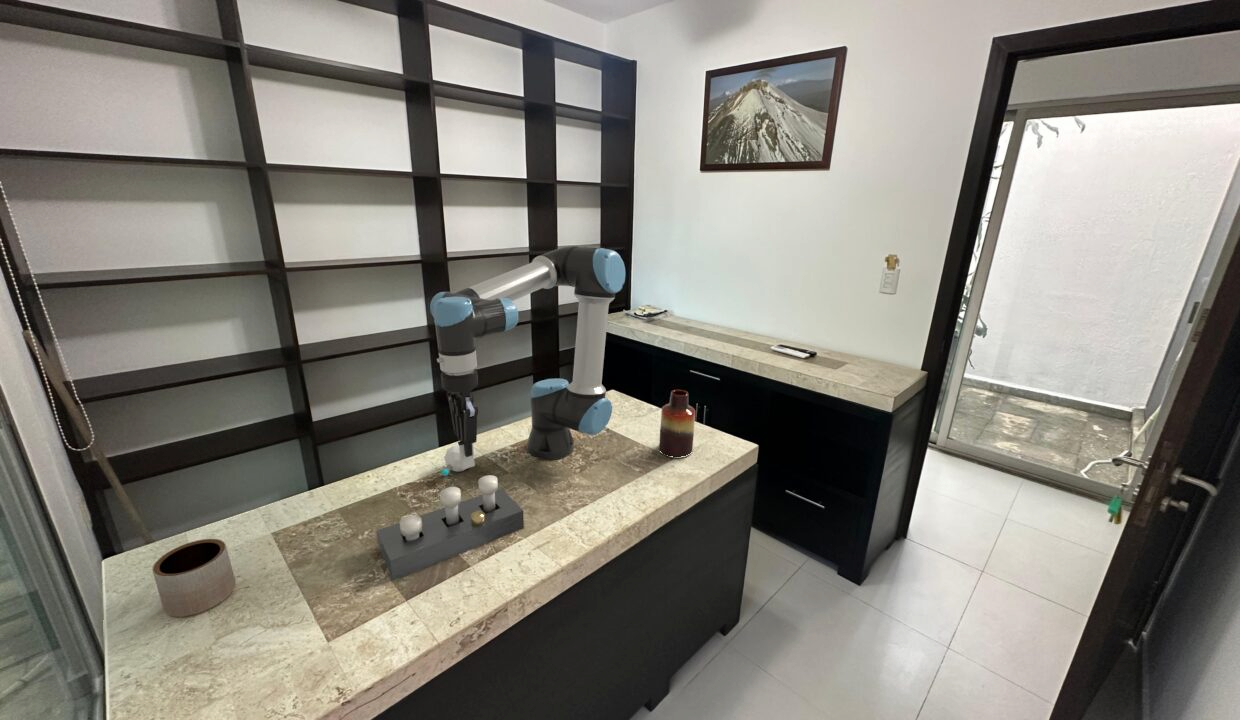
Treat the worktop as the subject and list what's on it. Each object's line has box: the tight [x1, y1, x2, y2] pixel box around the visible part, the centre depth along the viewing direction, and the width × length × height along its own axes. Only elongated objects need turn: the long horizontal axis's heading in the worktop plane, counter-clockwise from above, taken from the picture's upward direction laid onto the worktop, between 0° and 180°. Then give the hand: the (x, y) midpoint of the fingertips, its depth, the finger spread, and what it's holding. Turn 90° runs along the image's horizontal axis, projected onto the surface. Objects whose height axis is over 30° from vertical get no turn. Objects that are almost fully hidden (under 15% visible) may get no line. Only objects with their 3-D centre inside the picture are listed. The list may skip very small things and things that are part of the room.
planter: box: [152, 538, 236, 618], centre depth 94 cm, size 11×11×10 cm
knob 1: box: [399, 514, 422, 542], centre depth 108 cm, size 4×4×8 cm
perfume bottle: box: [441, 443, 466, 477], centre depth 142 cm, size 8×8×12 cm
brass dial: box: [471, 511, 485, 526], centre depth 112 cm, size 3×3×2 cm
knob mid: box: [439, 486, 462, 526], centre depth 112 cm, size 4×4×8 cm
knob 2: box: [477, 474, 499, 512], centre depth 117 cm, size 4×4×8 cm
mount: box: [376, 488, 525, 581], centre depth 114 cm, size 30×12×5 cm, turn 128°
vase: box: [658, 389, 696, 457], centre depth 157 cm, size 11×11×20 cm
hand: (467, 466), depth 112 cm, fingers closed
